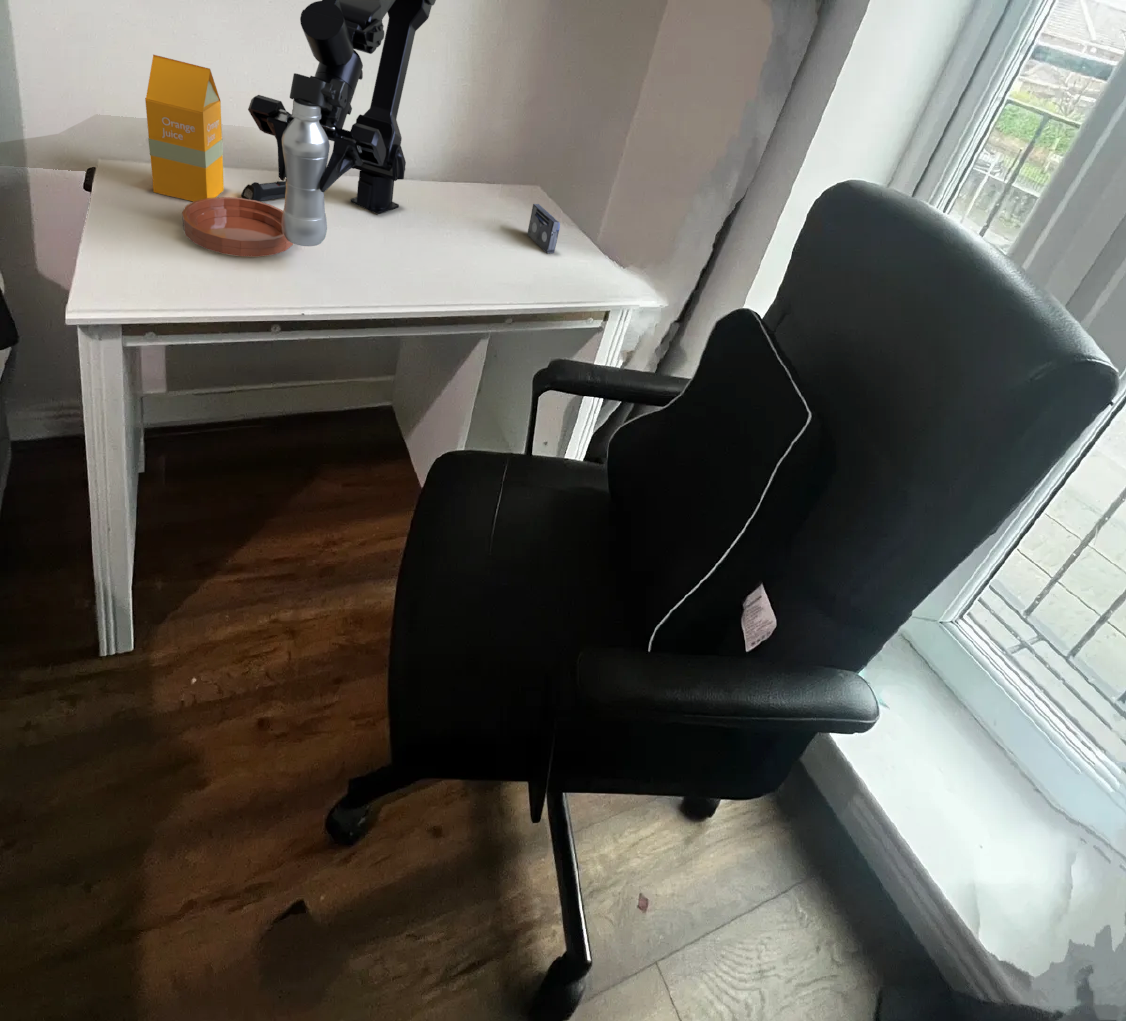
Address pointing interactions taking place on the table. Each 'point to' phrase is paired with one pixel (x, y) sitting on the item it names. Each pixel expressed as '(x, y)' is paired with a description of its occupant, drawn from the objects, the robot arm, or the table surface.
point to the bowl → (235, 226)
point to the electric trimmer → (264, 191)
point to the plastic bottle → (304, 176)
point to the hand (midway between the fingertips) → (301, 184)
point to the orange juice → (184, 130)
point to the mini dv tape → (543, 229)
